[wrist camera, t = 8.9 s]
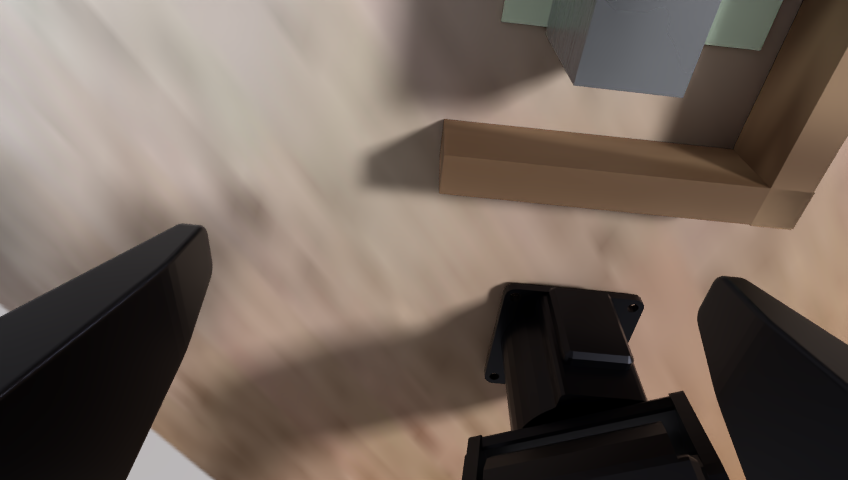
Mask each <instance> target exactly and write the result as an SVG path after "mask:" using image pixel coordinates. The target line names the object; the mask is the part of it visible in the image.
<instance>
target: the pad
mask: <svg viewBox="0 0 848 480" xmlns="http://www.w3.org/2000/svg"><path fill="white" fill-rule="evenodd" d="M782 1H783V0H722V1H721V4H720V6H719V9H718V11H717V14H716V16H715V19H714V21H713V24H712V26H711V29H710V31H709V34H708V36H707V39H706V41H705V45H714V46H723V47H732V48H741V49H750V50H759V51H760V50H761V48H762V46H763V43H764V41H765V39H766V37H767V35H768V32H769V30H770V28H771V26H772V24H773V21H774V19H775V17H776V15H777V13H778V10H779V8H780V6H781V4H782ZM552 2H553V0H505V1H504V7H503V13H502V18H501V22H508V23H517V24H526V25H535V26H544V27H547V24H548V19H549V15H550V11H551V6H552Z"/></svg>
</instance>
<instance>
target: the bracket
mask: <svg viewBox="0 0 848 480" xmlns="http://www.w3.org/2000/svg"><path fill="white" fill-rule="evenodd" d="M721 1H722V0H553V2H552V6H551V11H550V15H549V19H548V24H547V28H546V32H545V35H546V36H547V38H548V40H549V42H550V44H551V45H552V47H553V49H554V51H555V53H556V54H557V56H558V58H559V60H560V62H561V63H562V65H563V67H564V69H565V71H566V72H567V74H568V76H569V78H570V80H571V82H572V83H573V85H575V86H584V87H592V88H601V89H610V90H618V91H627V92H636V93H645V94H653V95H662V96H671V97H679V98H683V97H684V94H685V92H686V89H687V87H688V84H689V82H690V79H691V77H692V74H693V72H694V69H695V67H696V64H697V62H698V59H699V57H700V54H701V51H702V49H703V46H704V44H705V41H706V39H707V36H708V34H709V31H710V29H711V26H712V24H713V21H714V19H715V16H716V14H717V11H718V9H719V6H720V4H721Z"/></svg>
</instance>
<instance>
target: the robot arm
mask: <svg viewBox="0 0 848 480" xmlns="http://www.w3.org/2000/svg"><path fill="white" fill-rule="evenodd" d="M211 275H212V258H211V252H210V245H209V239H208V234H207V231H206V229H205V228H204V227H203V226H202V225H193V224H178V225H176V226H174V227H172V228H170V229H168V230H166V231H164V232H162V233H160V234H158V235H157V236H155V237H153V238H151V239H149V240H147V241H145V242H143V243H141V244H139V245H137V246H135V247H134V248H132V249H130V250H128V251H126V252H124V253H122V254H120V255H118V256H116V257H114V258H112V259H110V260H109V261H107V262H105V263H103V264H101V265H99V266H97V267H95V268H93V269H91V270H89V271H87V272H86V273H84V274H82V275H80V276H78V277H76V278H74V279H72V280H70V281H68V282H66V283H64V284H62V285H61V286H59V287H57V288H55V289H53V290H51V291H49V292H47V293H45V294H43V295H41V296H39V297H37V298H36V299H34V300H32V301H30V302H28V303H26V304H24V305H22V306H20V307H18V308H16V309H14V310H12V311H10V312H9V313H7V314H5V315H3V316H1V317H0V480H126V479H127V477H128V475H129V472H130V470H131V468H132V466H133V464H134V462H135V459H136V458H137V455H138V453H139V451H140V449H141V447H142V445H143V443H144V441H145V439H146V436H147V434H148V432H149V430H150V428H151V426H152V424H153V422H154V419H155V417H156V415H157V413H158V411H159V409H160V407H161V405H162V402H163V400H164V398H165V396H166V394H167V392H168V390H169V388H170V385H171V383H172V381H173V379H174V377H175V375H176V373H177V371H178V368H179V366H180V364H181V362H182V360H183V357H184V355H185V353H186V351H187V348H188V345H189V342H190V340H191V337H192V334H193V331H194V328H195V324H196V321H197V318H198V315H199V312H200V309H201V306H202V303H203V300H204V297H205V294H206V291H207V288H208V285H209V282H210V279H211ZM513 293H518V295H515V296H513V295H511V294H513ZM631 304H635V305H633V306H629V305H631ZM643 309H644V305H643V302H642V300H641V298H640V297H639V296H638V295H634V294H624V293H613V292H603V291H592V290H582V289H571V288H561V287H550V286H540V285H529V284H519V283H513V284H510V285H508V286H506V287H505V289H504V291H503V295H502V299H501V303H500V308H499V312H498V316H497V320H496V324H495V328H494V332H493V336H492V340H491V344H490V349H489V353H488V357H487V361H486V365H485V369H484V373H485V379H486V380H487V381H488V382H491V383H500V384H506V392H507V400H508V409H509V417H510V426H511V431H508V432H503V433H499V434H494V435H490V436H485V437H482V435H479V436H475V437H470V438H469V439H468V447H467V454H466V455H465V459H464V467H463V475H462V480H729V477H728V475H727V473H726V471H725V469H724V467H723V465H722V463H721V461H720V459H719V457H718V455H717V453H716V451H715V450H714V448H713V446H712V444H711V442H710V440H709V438H708V436H707V435H706V433H705V431H704V429H703V427H702V425H701V423H700V421H699V420H698V418H697V416H696V414H695V412H694V410H693V408H692V406H691V405H690V403H689V401H688V399H687V397H686V395H685V393H684V391H679V392H675V393H670V394H669V396H668V397H663V398H659V399H654V400H650V401H647V398H646V395H645V393H644V390H643V387H642V384H641V382H640V379H639V376H638V374H637V371H636V368H635V366H634V363H633V362H634V358H633V356H632V353H631V350H630V348H629V345H628V342H629V340H630V338H631V336H632V333H633V331H634V329H635V327H636V325H637V322H638V320H639V318H640V316H641V314H642V311H643ZM697 321H698V326H699V331H700V335H701V339H702V343H703V347H704V351H705V355H706V359H707V363H708V367H709V371H710V375H711V379H712V383H713V387H714V391H715V394H716V398H717V401H718V404H719V407H720V410H721V412H722V415H723V418H724V420H725V423H726V426H727V429H728V431H729V434H730V437H731V439H732V442H733V445H734V448H735V450H736V453H737V456H738V458H739V461H740V464H741V467H742V469H743V472H744V475H745V477H746V480H848V345H847V344H846V343H844V342H842V341H841V340H839V339H838V338H836V337H835V336H833V335H832V334H830V333H828V332H827V331H825V330H824V329H822V328H821V327H819V326H818V325H816V324H814V323H813V322H811V321H810V320H808V319H807V318H805V317H804V316H802V315H800V314H799V313H797V312H796V311H794V310H793V309H791V308H789V307H788V306H786V305H785V304H783V303H782V302H780V301H779V300H777V299H775V298H774V297H772V296H771V295H769V294H768V293H766V292H765V291H763V290H761V289H760V288H758V287H757V286H755V285H754V284H752V283H751V282H749V281H747V280H746V279H743V278H739V277H728V276H721V277H718V278H717V279H716V280H715V281H714V282H713V284H712V286H711V287H710V289H709V291H708V293H707V295H706V297H705V299H704V301H703V302H702V304H701V306H700V308H699V311H698V316H697ZM492 373H496V374H492Z"/></svg>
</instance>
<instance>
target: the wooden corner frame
mask: <svg viewBox="0 0 848 480" xmlns="http://www.w3.org/2000/svg"><path fill="white" fill-rule="evenodd" d="M847 136H848V0H803V3H802V5H801V7H800V9H799V11H798V13H797V15H796V17H795V19H794V22H793V24H792V26H791V28H790V30H789V32H788V34H787V36H786V38H785V41H784V43H783V45H782V47H781V49H780V51H779V53H778V55H777V57H776V60H775V62H774V64H773V66H772V68H771V70H770V72H769V74H768V76H767V79H766V81H765V83H764V85H763V87H762V89H761V91H760V93H759V95H758V98H757V100H756V102H755V104H754V106H753V108H752V110H751V112H750V114H749V117H748V119H747V121H746V123H745V125H744V127H743V129H742V131H741V133H740V136H739V138H738V140H737V142H736V144H735V146H734V148H733V149H724V148H715V147H705V146H696V145H686V144H677V143H667V142H658V141H648V140H639V139H629V138H620V137H610V136H601V135H591V134H582V133H572V132H563V131H553V130H543V129H534V128H524V127H515V126H505V125H496V124H486V123H477V122H467V121H458V120H448V119H444V124H443V132H442V140H441V148H440V164H439V193H440V194H450V195H460V196H470V197H480V198H490V199H500V200H510V201H520V202H530V203H540V204H550V205H560V206H570V207H580V208H590V209H600V210H610V211H620V212H630V213H640V214H650V215H660V216H670V217H680V218H690V219H700V220H710V221H720V222H730V223H740V224H749V225H750V226H757V227H767V228H777V229H787V230H791V229H793V228H794V227H795V225H796V223H797V222H798V220H799V218H800V217H801V215H802V213H803V212H804V210H805V208H806V207H807V205H808V203H809V202H810V200H811V198H812V197H813V195H814V191H815V189H816V188H817V186H818V184H819V183H820V181H821V179H822V178H823V176H824V174H825V173H826V171H827V169H828V168H829V166H830V164H831V163H832V161H833V159H834V158H835V156H836V154H837V153H838V151H839V149H840V148H841V146H842V144H843V143H844V141H845V139H846V138H847Z"/></svg>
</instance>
